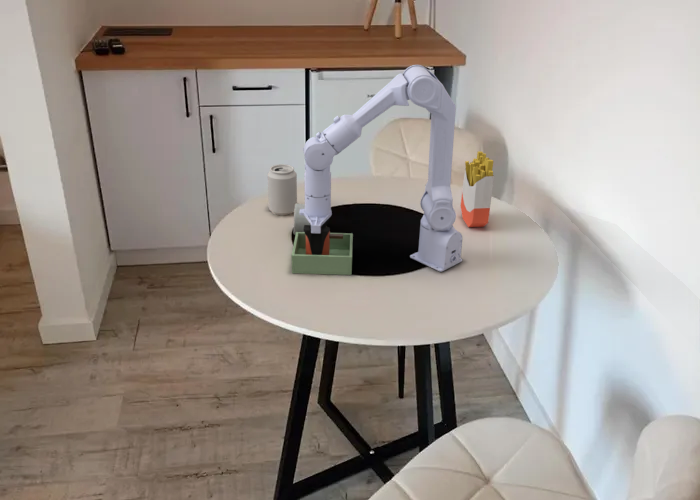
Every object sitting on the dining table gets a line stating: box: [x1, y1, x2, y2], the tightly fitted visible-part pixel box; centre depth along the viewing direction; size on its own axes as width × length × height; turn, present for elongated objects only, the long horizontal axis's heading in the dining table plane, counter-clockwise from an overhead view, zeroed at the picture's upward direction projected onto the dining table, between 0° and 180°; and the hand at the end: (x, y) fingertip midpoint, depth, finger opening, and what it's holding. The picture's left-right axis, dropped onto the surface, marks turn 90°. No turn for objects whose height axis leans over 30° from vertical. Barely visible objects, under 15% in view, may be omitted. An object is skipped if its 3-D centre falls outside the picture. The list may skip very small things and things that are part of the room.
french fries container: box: [460, 150, 495, 228], centre depth 172 cm, size 5×11×18 cm, turn 7°
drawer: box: [291, 232, 354, 276], centre depth 154 cm, size 13×12×4 cm
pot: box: [306, 231, 343, 255], centre depth 153 cm, size 8×5×6 cm, turn 89°
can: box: [267, 163, 298, 216], centre depth 177 cm, size 8×8×12 cm
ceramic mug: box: [293, 203, 328, 236], centre depth 167 cm, size 11×8×8 cm
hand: (317, 248), depth 154 cm, fingers closed on pot, 5 cm apart
